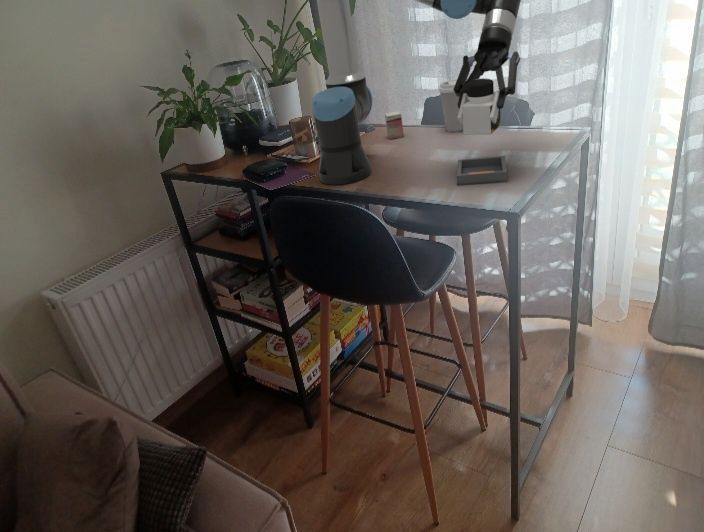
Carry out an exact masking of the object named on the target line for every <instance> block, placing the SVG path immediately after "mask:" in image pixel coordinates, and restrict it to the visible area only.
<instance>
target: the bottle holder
mask: <svg viewBox="0 0 704 532" xmlns="http://www.w3.org/2000/svg"><path fill="white" fill-rule="evenodd" d="M456 167H457V168H456V186H465V185H481V184H493V183H495V184H496V183H505V182H506V183H507V182H508V169H507V161H506V155H497V156H484V157H475V158H474V157H473V158H462V159H461V158H460V159H457V166H456Z"/></svg>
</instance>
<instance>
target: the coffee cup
mask: <svg viewBox="0 0 704 532" xmlns="http://www.w3.org/2000/svg"><path fill="white" fill-rule="evenodd" d="M456 81H457V79H450V80H445V81H442V82H441V83H440V84H439V87H438V93H439V94H440V95H439V96H440V100H441V105H442V106H441V107H442V112H443V113H442V114H443V119H444V126H445V131H446V132H449V133H457V132H461V131H463V123H460V121H459V119H458V114H459V108H458V105H457V104H458V100H459V97H457V96H456V94H455V92H454V90H453V89H454V86H455V84H456Z"/></svg>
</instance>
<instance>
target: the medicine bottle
mask: <svg viewBox="0 0 704 532" xmlns="http://www.w3.org/2000/svg"><path fill="white" fill-rule="evenodd" d="M467 93H468V100H469V101H468V102H466V103H465V104H464V105H462V117H463V130H462V131H463V132H462V133H463V135H465V136H466V135H473V136H474V135H476V136H477V135H484V136H485V135H489V136H491V135H493V133H494V132H496V131H497V130H498V129H499V127H501V125H502V124H501V121H502V120H501V109H499V112H498V116H497V120H496V123H492V121H491V119H490V114H491V110H492V106H493V101H494V97H495V92H494V81H493V79H490V78H487V77H485V78H484V77H483V78H479V79H476V80H472V81H470V82H469V83H468V84H467Z"/></svg>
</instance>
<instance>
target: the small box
mask: <svg viewBox="0 0 704 532" xmlns="http://www.w3.org/2000/svg"><path fill="white" fill-rule="evenodd" d="M384 118H385V119H384V120H385V128H386V136H387V139H389V140H393V139H398V138H404V136H405V135H404V129H403V127H404V126H403V120H402V113H401V112H400V110H398V111H391V112H388V113H387V112H386V113H384Z"/></svg>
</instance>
